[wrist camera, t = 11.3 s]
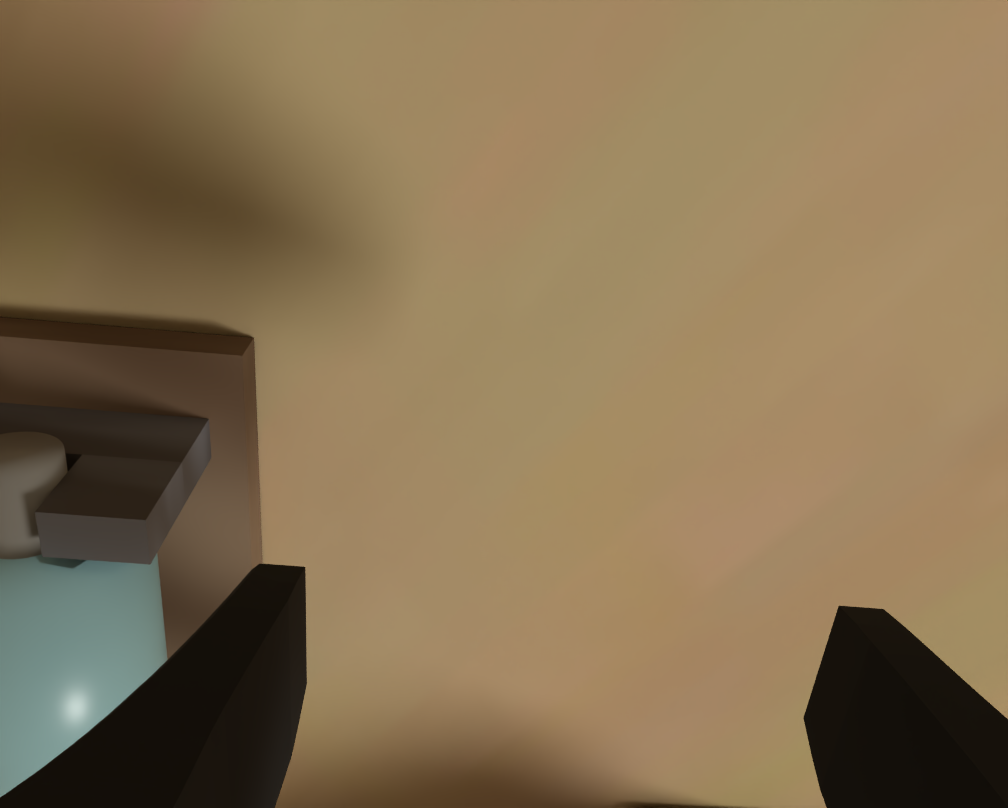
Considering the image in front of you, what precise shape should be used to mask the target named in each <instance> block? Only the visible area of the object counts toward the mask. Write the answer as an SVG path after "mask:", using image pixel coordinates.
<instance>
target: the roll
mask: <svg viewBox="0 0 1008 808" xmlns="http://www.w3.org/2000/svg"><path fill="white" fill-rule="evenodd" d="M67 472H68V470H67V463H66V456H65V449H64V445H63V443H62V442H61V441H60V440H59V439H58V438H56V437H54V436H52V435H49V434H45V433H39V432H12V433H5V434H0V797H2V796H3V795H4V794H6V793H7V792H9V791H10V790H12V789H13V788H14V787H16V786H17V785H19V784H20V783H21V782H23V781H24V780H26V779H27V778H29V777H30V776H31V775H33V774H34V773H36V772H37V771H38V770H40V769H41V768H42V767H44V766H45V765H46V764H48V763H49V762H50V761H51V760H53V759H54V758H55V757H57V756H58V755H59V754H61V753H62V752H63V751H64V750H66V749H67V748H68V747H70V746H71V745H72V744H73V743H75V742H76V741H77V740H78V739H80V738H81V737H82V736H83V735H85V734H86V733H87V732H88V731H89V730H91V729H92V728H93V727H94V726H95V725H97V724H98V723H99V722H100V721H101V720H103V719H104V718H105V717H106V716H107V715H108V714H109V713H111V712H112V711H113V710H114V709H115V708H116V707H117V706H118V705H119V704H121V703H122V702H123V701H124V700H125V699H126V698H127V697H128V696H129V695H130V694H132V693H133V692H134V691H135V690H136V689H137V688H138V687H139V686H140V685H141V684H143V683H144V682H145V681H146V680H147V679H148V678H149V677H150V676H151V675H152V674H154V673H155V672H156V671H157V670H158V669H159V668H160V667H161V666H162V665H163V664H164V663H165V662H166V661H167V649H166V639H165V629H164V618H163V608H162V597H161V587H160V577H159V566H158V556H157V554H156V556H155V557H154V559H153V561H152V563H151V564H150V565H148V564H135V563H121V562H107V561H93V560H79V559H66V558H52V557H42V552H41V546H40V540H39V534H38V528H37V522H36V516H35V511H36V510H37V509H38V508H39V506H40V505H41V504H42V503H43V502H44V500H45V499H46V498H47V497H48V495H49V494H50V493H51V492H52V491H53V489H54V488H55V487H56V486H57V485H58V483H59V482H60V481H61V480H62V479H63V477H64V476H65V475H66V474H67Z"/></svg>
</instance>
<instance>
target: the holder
mask: <svg viewBox="0 0 1008 808" xmlns="http://www.w3.org/2000/svg"><path fill="white" fill-rule="evenodd" d="M12 432H39V433H45V434H49V435H52V436H54V437H56V438H58V439H59V440H60V441H61V442H62V443H63V445H64V449H65V456H66V463H67V470H68V472H67V474H66V475H65V476H64V477H63V479H62V480H61V481H60V482H59V483H58V485H57V486H56V487H55V488H54V489H53V491H52V492H51V493H50V494H49V495H48V497H47V498H46V499H45V500H44V502H43V503H42V504H41V505H40V506H39V508H38V509H37V510H36V511H35V516H36V522H37V528H38V534H39V540H40V546H41V552H42V557H52V558H66V559H79V560H93V561H107V562H121V563H135V564H148V565H150V564H151V563H152V561H153V559H154V557H155V556H156V554H157V556H158V566H159V577H160V587H161V597H162V608H163V618H164V629H165V639H166V649H167V660H168V659H169V658H170V657H171V656H172V655H173V654H174V653H175V652H176V651H177V650H178V649H179V648H180V647H181V646H182V645H183V644H184V643H185V642H186V641H187V640H188V639H189V638H190V637H191V636H192V635H193V634H194V633H195V632H196V631H197V629H198V628H199V627H200V626H201V625H202V624H203V623H204V622H205V621H206V620H207V619H208V618H209V617H210V616H211V614H212V613H213V612H214V611H215V610H216V609H217V608H218V607H219V606H220V605H221V604H222V602H223V601H224V600H225V599H226V598H227V597H228V596H229V595H230V594H231V592H232V591H233V590H234V589H235V588H236V587H237V586H238V584H239V583H240V582H241V581H242V580H243V579H244V578H245V576H246V575H247V574H248V573H249V572H250V571H251V570H252V569H253V568H254V567H256V566H257V565H258V564H262V540H261V513H260V487H259V460H258V433H257V407H256V380H255V353H254V338H251V337H238V336H226V335H214V334H201V333H189V332H177V331H165V330H152V329H140V328H128V327H115V326H103V325H91V324H78V323H66V322H54V321H42V320H29V319H17V318H5V317H0V434H5V433H12Z"/></svg>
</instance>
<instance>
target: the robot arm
mask: <svg viewBox="0 0 1008 808" xmlns="http://www.w3.org/2000/svg"><path fill="white" fill-rule="evenodd" d="M306 685H307V672H306V588H305V567H299V566H285V565H272V564H258V565H257V566H256V567H254V568H253V569H252V570H251V571H250V572H249V573H248V574H247V575H246V576H245V578H244V579H243V580H242V581H241V582H240V583H239V584H238V586H237V587H236V588H235V589H234V590H233V591H232V592H231V594H230V595H229V596H228V597H227V598H226V599H225V600H224V601H223V602H222V604H221V605H220V606H219V607H218V608H217V609H216V610H215V611H214V612H213V613H212V614H211V616H210V617H209V618H208V619H207V620H206V621H205V622H204V623H203V624H202V625H201V626H200V627H199V628H198V629H197V631H196V632H195V633H194V634H193V635H192V636H191V637H190V638H189V639H188V640H187V641H186V642H185V643H184V644H183V645H182V646H181V647H180V648H179V649H178V650H177V651H176V652H175V653H174V654H173V655H172V656H171V657H170V658H169V659H168V660H167V661H166V662H165V663H164V664H163V665H162V666H161V667H160V668H159V669H158V670H157V671H156V672H155V673H154V674H152V675H151V676H150V677H149V678H148V679H147V680H146V681H145V682H144V683H143V684H141V685H140V686H139V687H138V688H137V689H136V690H135V691H134V692H133V693H132V694H130V695H129V696H128V697H127V698H126V699H125V700H124V701H123V702H122V703H121V704H119V705H118V706H117V707H116V708H115V709H114V710H113V711H112V712H111V713H109V714H108V715H107V716H106V717H105V718H104V719H103V720H101V721H100V722H99V723H98V724H97V725H95V726H94V727H93V728H92V729H91V730H89V731H88V732H87V733H86V734H85V735H83V736H82V737H81V738H80V739H78V740H77V741H76V742H75V743H73V744H72V745H71V746H70V747H68V748H67V749H66V750H64V751H63V752H62V753H61V754H59V755H58V756H57V757H55V758H54V759H53V760H51V761H50V762H49V763H48V764H46V765H45V766H44V767H42V768H41V769H40V770H38V771H37V772H36V773H34V774H33V775H31V776H30V777H29V778H27V779H26V780H24V781H23V782H21V783H20V784H19V785H17V786H16V787H14V788H13V789H12V790H10V791H9V792H7V793H6V794H4V795H3V796H2V797H0V808H275V805H276V802H277V799H278V796H279V793H280V790H281V787H282V784H283V781H284V778H285V775H286V771H287V768H288V765H289V762H290V759H291V756H292V752H293V747H294V743H295V738H296V733H297V729H298V724H299V719H300V714H301V709H302V704H303V699H304V694H305V690H306ZM804 722H805V727H806V731H807V736H808V740H809V745H810V749H811V754H812V758H813V762H814V766H815V770H816V774H817V778H818V782H819V786H820V790H821V793H822V796H823V798H824V801H825V804H826V807H827V808H1008V719H1007V718H1006V717H1005V716H1003V715H1002V714H1001V713H1000V712H999V711H998V710H997V709H995V708H994V707H993V706H992V705H991V704H990V703H989V702H988V701H986V700H985V699H984V698H983V697H982V696H981V695H980V694H978V693H977V692H976V691H975V690H974V689H973V688H972V687H971V686H970V685H968V684H967V683H966V682H965V681H964V680H963V679H962V678H961V677H960V676H958V675H957V674H956V673H955V672H954V671H953V670H952V669H951V668H950V667H949V666H947V665H946V664H945V663H944V662H943V661H942V660H941V659H940V658H939V657H938V656H936V655H935V654H934V653H933V652H932V651H931V650H930V649H929V648H928V647H926V646H925V645H924V644H923V643H922V642H921V641H920V640H919V639H918V638H916V637H915V636H914V635H913V634H912V633H911V632H910V631H909V630H907V629H906V628H905V627H904V626H903V625H902V624H901V623H899V622H898V621H897V620H896V619H895V618H894V617H892V616H891V615H890V614H889V613H887V612H886V611H885V610H884V609H875V608H862V607H848V606H839V607H838V610H837V613H836V616H835V620H834V623H833V626H832V629H831V632H830V635H829V639H828V642H827V645H826V648H825V651H824V655H823V658H822V661H821V664H820V667H819V670H818V674H817V677H816V680H815V683H814V686H813V690H812V693H811V696H810V699H809V702H808V705H807V709H806V712H805V715H804Z"/></svg>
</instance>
